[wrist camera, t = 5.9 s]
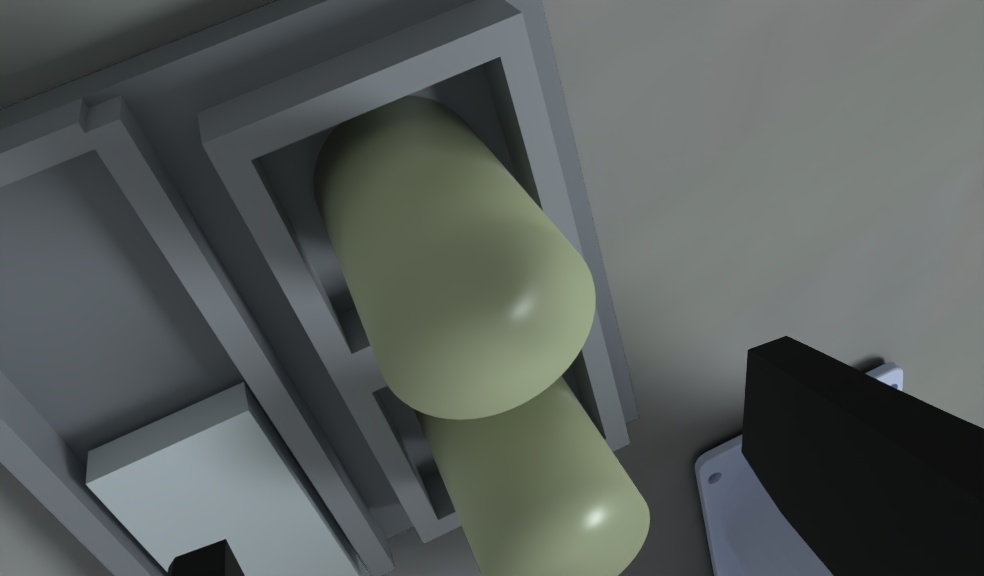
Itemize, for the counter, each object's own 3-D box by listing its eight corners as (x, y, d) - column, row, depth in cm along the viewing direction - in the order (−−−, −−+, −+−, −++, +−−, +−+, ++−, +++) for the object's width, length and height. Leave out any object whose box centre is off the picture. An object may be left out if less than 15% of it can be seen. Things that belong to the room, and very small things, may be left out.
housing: (620, 391, 25) (752, 570, 19) (197, 593, 23) (214, 848, 18) (501, -88, 16) (678, -7, 11) (-180, 180, 15) (-366, 430, 9)
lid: (382, 593, 24) (404, 674, 22) (265, 651, 23) (277, 738, 21) (243, 381, 18) (257, 461, 16) (88, 451, 18) (80, 543, 16)
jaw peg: (459, 70, 16) (577, 190, 12) (497, 219, 18) (608, 367, 14) (287, 132, 16) (343, 280, 11) (346, 278, 18) (413, 450, 14)
